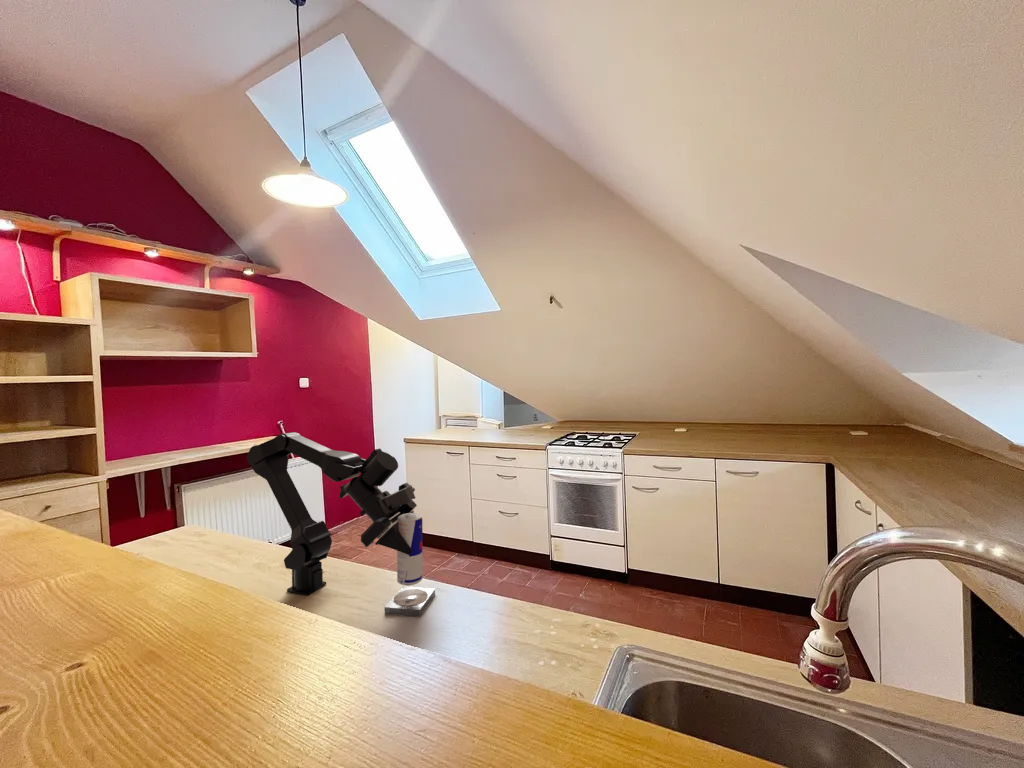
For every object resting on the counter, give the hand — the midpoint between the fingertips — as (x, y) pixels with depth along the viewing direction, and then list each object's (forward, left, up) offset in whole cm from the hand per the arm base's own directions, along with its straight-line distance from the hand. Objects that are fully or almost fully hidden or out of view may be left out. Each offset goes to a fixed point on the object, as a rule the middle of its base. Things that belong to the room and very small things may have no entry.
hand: (415, 548), depth 100 cm
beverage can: (-1, 0, -8) cm, 8 cm away
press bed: (-1, 0, -13) cm, 13 cm away
